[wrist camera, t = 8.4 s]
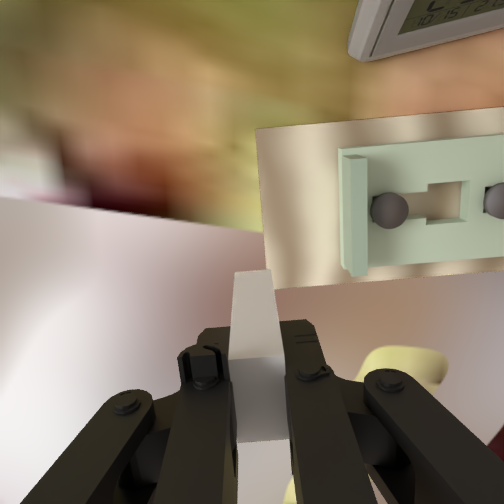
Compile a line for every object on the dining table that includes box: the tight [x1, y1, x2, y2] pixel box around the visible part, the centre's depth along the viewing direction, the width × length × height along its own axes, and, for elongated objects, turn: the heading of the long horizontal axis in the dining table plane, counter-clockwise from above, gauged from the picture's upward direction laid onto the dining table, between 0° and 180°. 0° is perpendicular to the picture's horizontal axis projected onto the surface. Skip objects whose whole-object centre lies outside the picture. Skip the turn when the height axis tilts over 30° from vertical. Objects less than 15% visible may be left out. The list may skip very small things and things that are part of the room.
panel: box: [338, 133, 504, 277], centre depth 33 cm, size 22×10×4 cm, turn 95°
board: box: [255, 107, 504, 289], centre depth 35 cm, size 29×14×4 cm, turn 95°
